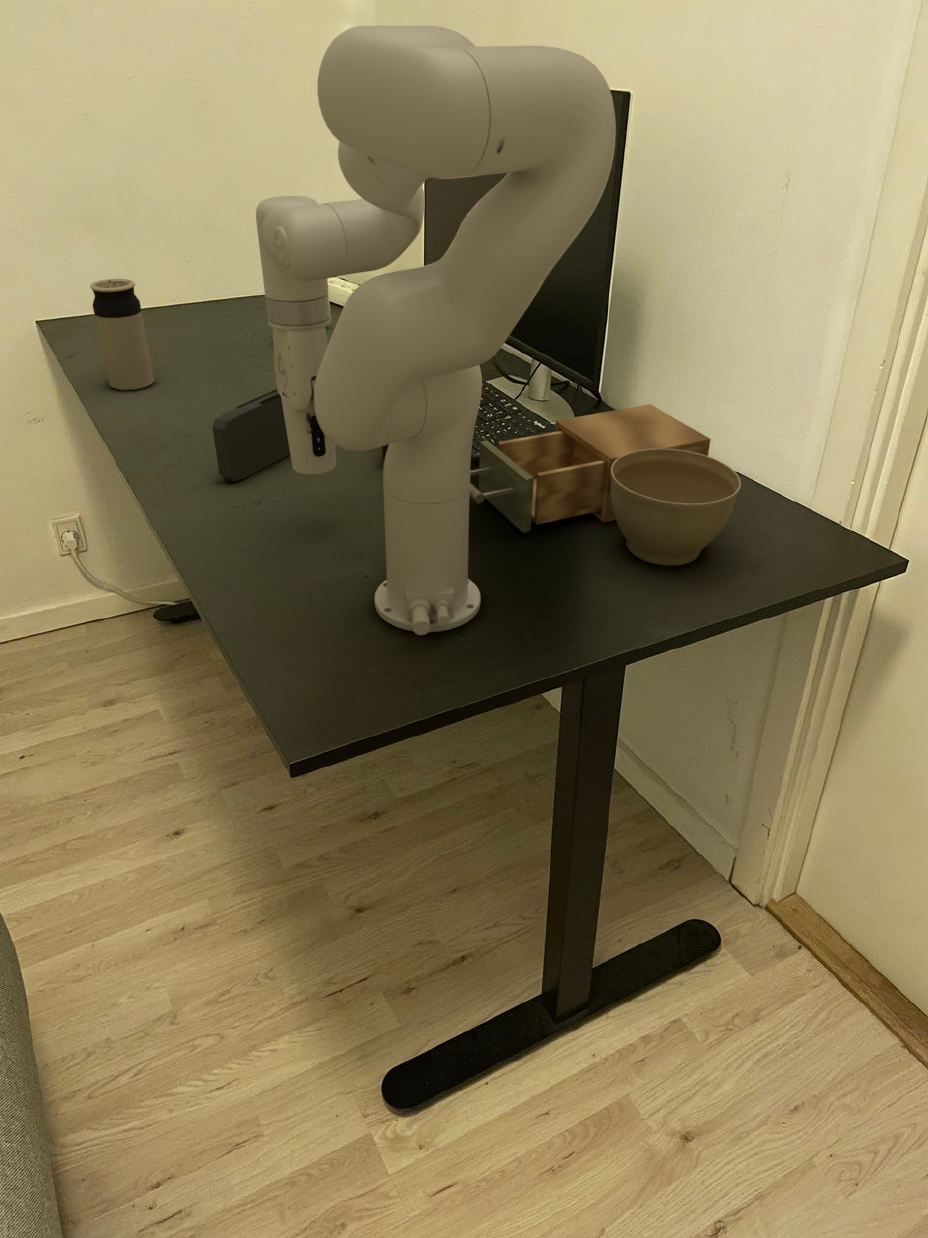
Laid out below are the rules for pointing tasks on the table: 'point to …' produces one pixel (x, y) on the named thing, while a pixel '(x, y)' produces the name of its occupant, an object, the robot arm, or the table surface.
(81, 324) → the table surface
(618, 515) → the planter bowl
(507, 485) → the drawer
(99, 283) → the travel mug
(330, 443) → the white coffee cup
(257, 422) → the handheld gaming console
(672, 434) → the cabinet
